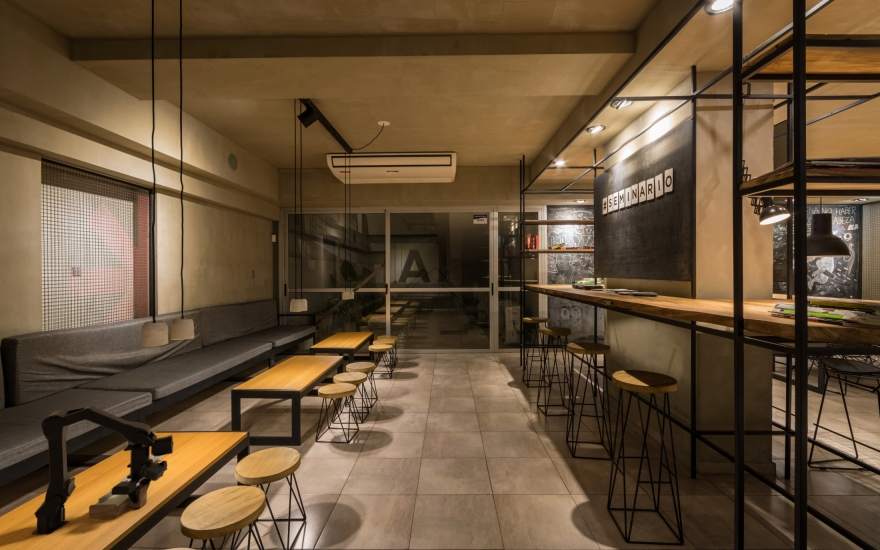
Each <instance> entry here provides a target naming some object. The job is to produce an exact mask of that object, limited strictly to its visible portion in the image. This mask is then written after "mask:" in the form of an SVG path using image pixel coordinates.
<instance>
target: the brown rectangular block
mask: <svg viewBox="0 0 880 550" xmlns="http://www.w3.org/2000/svg"><path fill="white" fill-rule="evenodd" d="M147 501H148V490H147V485H143V486H142V487H141V488H140V489H139V495H138V502H137V503H136V504H134V503H133V502H132V506H131V509H141V508H142V507H143V506H145V505H146V504H147V503H148V502H147Z"/></svg>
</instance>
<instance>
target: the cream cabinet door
mask: <svg viewBox="0 0 880 550" xmlns="http://www.w3.org/2000/svg"><path fill="white" fill-rule="evenodd" d="M129 498H130V497H129V496H128V495H112V490H111V491H109V492H107V493H105V494H104V495H103V496H100V497H99V498H98V501H97V502H96V503H94V504H93V505H109V504H117V506H119V505H120V504H121V503H123V502H124V501H126V500H127V499H129Z"/></svg>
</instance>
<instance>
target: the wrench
mask: <svg viewBox="0 0 880 550" xmlns="http://www.w3.org/2000/svg"><path fill="white" fill-rule="evenodd" d="M164 456H165V455H161V456H156V457H155V456H153V454H152V455H151V454H150V459H152V460H153V463H155V462H156V461H157V462H156V463H160V462H162V461H163V460H162V459H163V458H164ZM128 475H130V473H129V474H127V475H126V476H124V478H122V479H120V481H119V483H120V482H122V481H130V480H131V479H127V476H128Z"/></svg>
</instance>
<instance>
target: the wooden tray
mask: <svg viewBox="0 0 880 550" xmlns="http://www.w3.org/2000/svg"><path fill="white" fill-rule="evenodd" d="M130 507H132V500H131V499H130V498H129V499H127V500H126V501H124V502H123V503H121V504H120V505H119V506H117V504H109V505H94V504H91V505H89V506H88V519H90V520H91V519H97V520H99V519H115V518H116V516H117V517H118V516H119V515H121V514H122V513H123V512H125V511H126V510H128V509H129V508H130ZM124 510H125V511H124ZM120 513H121V514H120Z"/></svg>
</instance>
